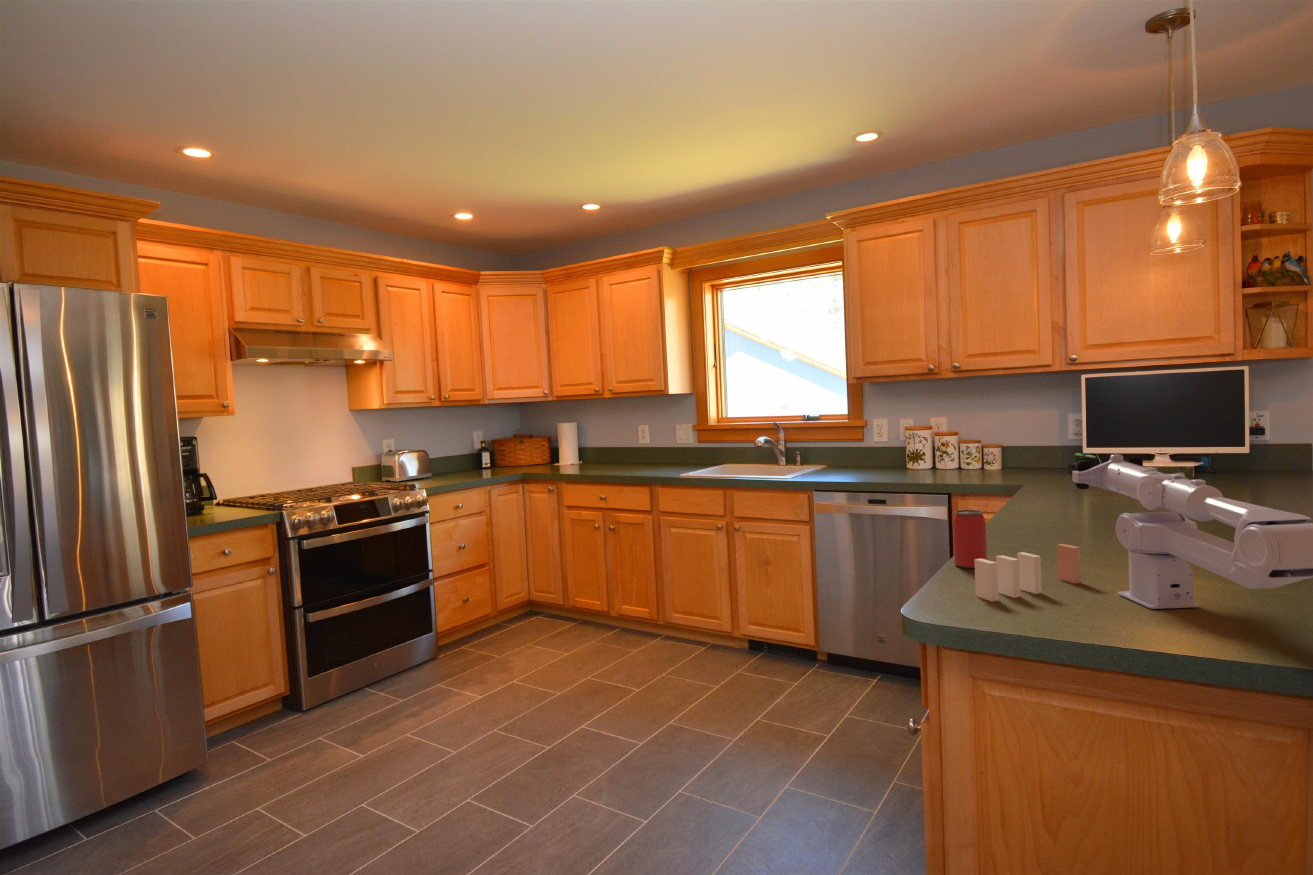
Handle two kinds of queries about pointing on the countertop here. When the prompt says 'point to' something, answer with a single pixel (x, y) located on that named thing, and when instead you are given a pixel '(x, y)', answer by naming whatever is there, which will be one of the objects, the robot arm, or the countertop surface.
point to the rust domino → (1068, 563)
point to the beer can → (969, 537)
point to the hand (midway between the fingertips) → (1089, 467)
